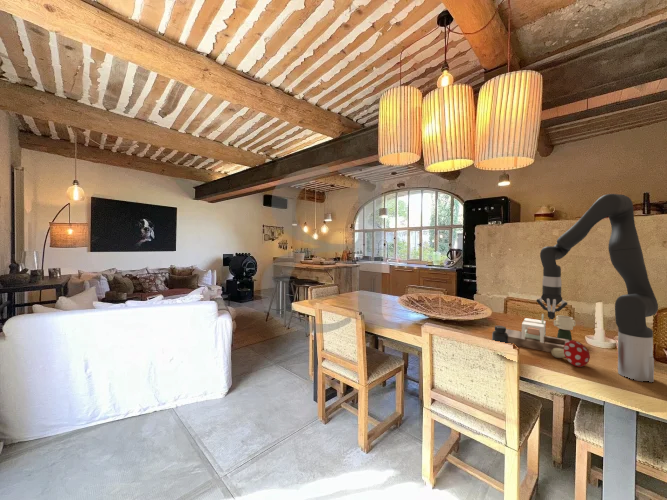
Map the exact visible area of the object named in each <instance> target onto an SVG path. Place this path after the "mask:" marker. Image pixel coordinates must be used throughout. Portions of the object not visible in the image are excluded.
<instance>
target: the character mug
mask: <svg viewBox="0 0 667 500" xmlns="http://www.w3.org/2000/svg"><path fill="white" fill-rule="evenodd" d="M555 318H556V319H553V326H554V327H557V329H558V330H557V335H556V336H557V337H556V338H562V339H567V340H569V341H571V340H573V336H572V332H571V330H572V331H573V329H574V327H576V320H574V317H571V316H568V315H561V314H559V315H555Z"/></svg>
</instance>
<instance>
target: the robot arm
mask: <svg viewBox="0 0 667 500" xmlns="http://www.w3.org/2000/svg"><path fill="white" fill-rule="evenodd" d="M607 217H608V219H609V222H610V226H611V227H610V228H611V234H610V238H609V240H608V247H607V248H608V254H609V258H610V261H611V264H612V266H613V267H614V269H615V270H616V271H617V273H618V274H619V275H620V276H621V278H622V280H623V281H624V283H625V286H626V291H627V292H626V293H627V294H622V295H620V296H618V297H617V298H616V300H615V304H614V313H615V315H614V317H615V319H614V320H615V324H616V326H617V328H618V330H617V336H618V337H617V339H618V340H617V341H618V342H617V373H618V374H619V375H620V376H621V377H624V376H625V377H624V378H626V377H628V378H627V379H629V378H630V380H633V379H634V380H633V381H638V382H643V381H649V382H648V383H652V382H654V381H655V358H654V355H653V354H654V353H653V352H654V349H653V348H654V347H653V346H654V345H653V344H654V340H653V339H654V330H653V329H652V328H650V327H649V326H648V325H647V320H646V318H648V317H652V316H655V315H656V313H657V312H658V310H659V304H658V301H657V298H656V295H655V293H654V291H653V287H652V286H651V283H650V279H649V275H648V271H647V268H646V264H645V259H644V254H643V249H642V246H641V243H640V239H639V234H638V232H637V228H636V223H635V213H634V204H633V200H632V199H631V198H630V197H629V196H627V195H624V194H617V193H607V194H603V195H602V196H600V197H599V198H598V199H597V200H596V201H594V203H593V204H592V205H591V206H590V207H589V209H587V210H586V211H585V212H584V214H583V215H582V216H581V217H580V218H579V219H578V221H576V222H575V223H574V224H573V225H572V226H571V227H570V228H569V229H568V230H566V231H565V232H564V233H563V234H561V235H560V236H559V237H557V239H556V244H555V245H551V246H550V245H549V246H544V247H542V248H541V250H540V253H539V257H540V261H541V264H542V268H543V270H542V277H543V278H542V289H541V291H542V293H541V297H540V298H537V299H536V303H537V304H539V306H540V307H541V308H542V309H543V310H544V311H546V312H547V318H549V320H554V319H555V318H556V313H557V312H560V311H561V310H562V309H564V308H565V307H566V306H568V302H567V301H565V300H563V297H562V268H561V266H560V265H558V264H557V260H561V259H563V258H564V257H565V256H566V255H567V254H568V253H569V252H570V251H571V250H572V248H574V247H575V246H577V245H578V244H579V243H580V242H581V241H583V240H584V239H585V238H586V237H587V236H588V234H589V233H590V232H591V229H593V228H594V227H595V226H596V225H597V224H598V223H599V222H600V221H602V220H604V219H607ZM543 302H544V303H545V304H546V305H545V304H544V303H543ZM559 304H561V305H560V306H558V305H559ZM557 306H558V307H557ZM556 307H557V308H556ZM654 383H655V382H654Z"/></svg>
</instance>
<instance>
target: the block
mask: <svg viewBox="0 0 667 500" xmlns="http://www.w3.org/2000/svg"><path fill="white" fill-rule="evenodd" d="M527 334H533V335H538V336H540V328H534V327H528V328H527Z"/></svg>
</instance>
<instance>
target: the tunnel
mask: <svg viewBox="0 0 667 500" xmlns="http://www.w3.org/2000/svg"><path fill="white" fill-rule="evenodd" d="M546 324H547V322H546V320H544V324H542V319H541V320H540V319H535V318H534V319H533V318H527V317H525V318H524V320H523V321H522V323H521V332H522V339H525V330H527V328H528V327H534V328H540V342H541V343H544V336H547V335H546V334H547V333H546V330H547V329H546V326H547V325H546Z"/></svg>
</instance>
